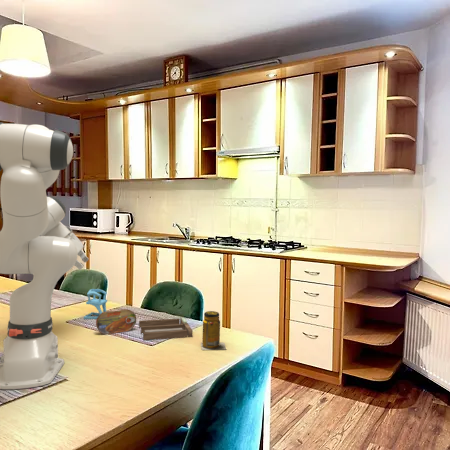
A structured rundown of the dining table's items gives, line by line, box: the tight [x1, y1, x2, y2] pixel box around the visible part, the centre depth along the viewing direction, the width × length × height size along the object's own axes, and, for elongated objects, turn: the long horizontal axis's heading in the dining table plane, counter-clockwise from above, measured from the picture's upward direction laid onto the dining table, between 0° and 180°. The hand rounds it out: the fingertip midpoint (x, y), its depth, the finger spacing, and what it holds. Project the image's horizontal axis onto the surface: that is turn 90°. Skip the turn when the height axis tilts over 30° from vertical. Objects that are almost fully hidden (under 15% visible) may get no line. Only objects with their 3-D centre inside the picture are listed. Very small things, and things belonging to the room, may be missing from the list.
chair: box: [83, 288, 108, 320], centre depth 177 cm, size 8×8×12 cm
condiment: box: [200, 310, 227, 351], centre depth 147 cm, size 7×8×12 cm
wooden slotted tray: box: [138, 317, 194, 341], centre depth 162 cm, size 16×18×3 cm
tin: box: [95, 308, 137, 335], centre depth 160 cm, size 15×3×8 cm, turn 121°
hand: (84, 264), depth 156 cm, fingers open, 8 cm apart
